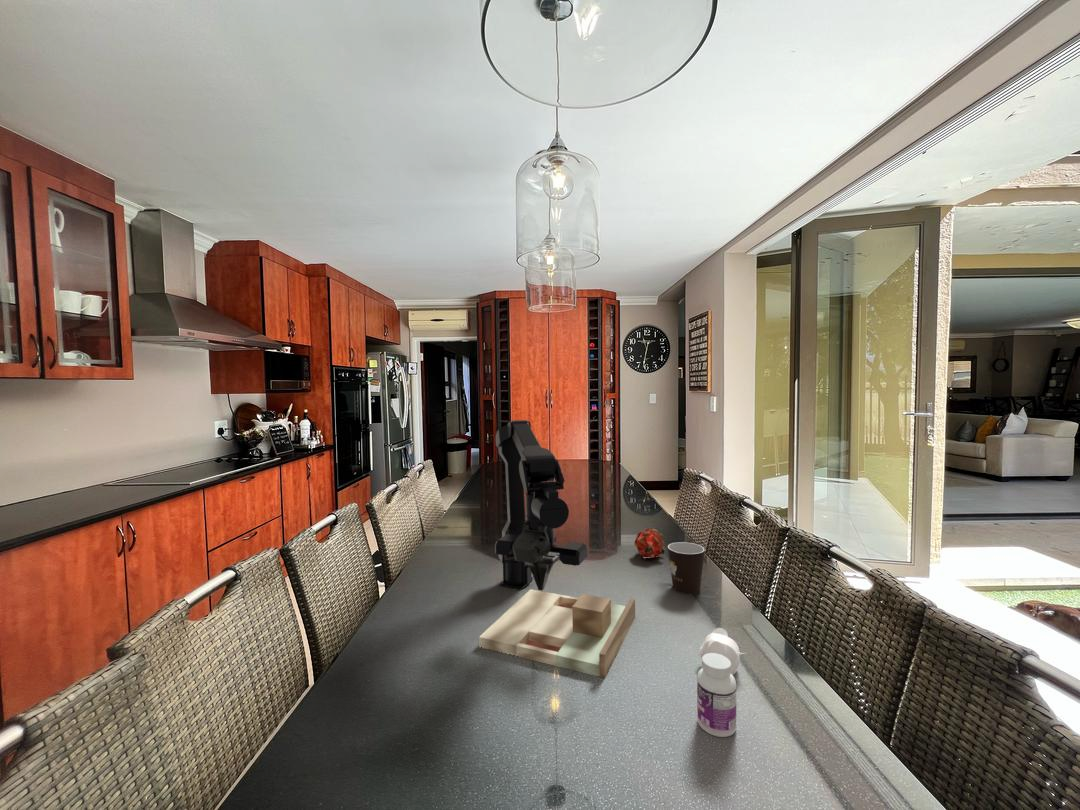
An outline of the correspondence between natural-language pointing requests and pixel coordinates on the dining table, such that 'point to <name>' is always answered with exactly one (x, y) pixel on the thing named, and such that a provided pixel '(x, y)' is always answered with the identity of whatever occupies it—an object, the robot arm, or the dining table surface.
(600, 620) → the walnut block
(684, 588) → the coffee mug
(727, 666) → the pill bottle
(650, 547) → the dragon fruit
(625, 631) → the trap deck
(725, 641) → the elephant figurine
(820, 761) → the dining table surface
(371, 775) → the dining table surface
